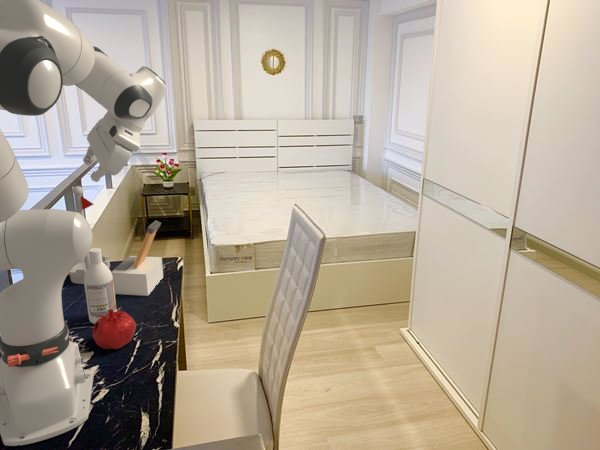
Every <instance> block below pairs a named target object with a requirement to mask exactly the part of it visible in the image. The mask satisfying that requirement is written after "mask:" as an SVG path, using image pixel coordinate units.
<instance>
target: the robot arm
mask: <svg viewBox="0 0 600 450" xmlns="http://www.w3.org/2000/svg"><path fill="white" fill-rule="evenodd" d="M74 85H75V87H77V88H78V89H80V90H82V91H83V92H84V93H85V94H87V95H88V96H89V97H91V98H92V99H93V100H94V101H95V102H96V103H98V104H99V105H100V106H102V107H103V108H104V109H105V110H107V112H106V113H105V114H104V116H103V117H102V118H100V119H99V120H98V121H97V122H96V123H95V124H94V126H93V127H92V128H91V130H90V132H89V133H88V134H87V136H86V140H87V142H88V144H89V146H88V147H87V150H86V153H85V156H84V157H83V159H82V162H83V163H84V164H85V165H87V166H91V165H92V163H93V162H94V158H96V160H97V162H98V164H99V165H98V167H97V170H95V171H93V172H92V173H91V175H89V176H90V179H91V180H92V181H93V182H95V183H98V182H99V181H100V180H101V178H103V177H104V176H106V175H107V174H109V175H111V176H117V175H118V174H119V173H120V172H121V171H122V170H123V169H124V168H125V167H126V165H127V164H128V162H129V161H130V159H131V158H132V156H133V152H135V153H136V152H138V151H139V149H140V147H141V141H140V138H141V137H140V136H141V132H142V130H143V129H144V127H145V124H146V121H147V120H148V119H149V118H151V116H153V114H154V113H155V112H156V110H157V109H158V107H159V106H160V104H161V102H162V100H163V98H164V97H165V94H166V92H167V89H168V85H167V84H166V81H165V80H164V79H162V77H160V76H159V75H158V74H157V73H156V72H155V71H154V70H152V69H151V68H149V67H147V66H144V65H143V66H141V67H140V68H138V70H137V71H136V72H133V73H131V72H128V71H126V70H125V69H123V68H122V66H120V65H119V64H118V63H116V62H115V61H114V60H113V59H112V58H110V57H109V56H108V54H106V53H105V52H104V51H103V50H102V49H100V48H99V47H98V46H97V47H96V46H93V44H92V43H91V41H90V40H89V38H88V37H87V35H85V33H84V32H83V31H82V30H81V29H80V28H79V27H78V26H77V25H75V23H73V22H72V21H71V20H70V19H69V18H67V17H66V16H64V15H63V14H62V13H61V12H59V11H57V10H56V9H55V8H53V7H51V6H49V5H48V4H47V3H44V2H42V1H40V0H0V110H2V111H7V112H8V113H10V114H13V115H18V116H19V115H20V116H27V117H28V116H29V117H32V116H34V117H35V116H41V115H44V114H46V113H47V112H48V111H49V110H51V108H53V107H54V106H55V105H56V104H57V102H58V100H59V99H60V96H61V93H62V91H63V90H62V89H63V87H64V86H65V87H71V86H74ZM28 196H29V184H28V181H27V179H26V177H25V175H24V172H23V171H22V168H21V166H20V163H19V161H18V159H17V157H16V155H15V152H14V151H13V149H12V147H11V145H10V143H9V141H8V139H7V137H6V136H5V134H4V132H3V131H2V130H1V128H0V271H10V270H12V271H13V270H18V271H19V270H20V271H21V272H22V277H23V278H22V279H21V280H18V281H16V282H14V283H12V284H10V285H8V286H7V287H6V288H5V289H3V290H2V291H1V292H0V355H1V357H0V437H1V441H2V443H3V445H4V446H9V447H16V446H18V445H19V446H25V445H30V444H34V443H37V442H41V441H45V440H48V439H51V438H54V437H57V436H59V435H62V434H64V433H67V432H69V431H71V430H73V429H75V428H77V427H79V426H80V425H81V424H83V423H85V422H86V421H87V420H88V419H89V414H90V407H91V399H92V391H93V385H94V372H93V371H92V370H90V369H84V368H83V367H82V363H83V358H82V356H81V355H80V349H79V348H80V347H79V344H78V343H76V342H74V341H71V340H70V331H69V327H68V324H67V321H65V319H64V312H63V311H64V310H63V299H62V298H63V297H62V290H63V286H64V283H65V280H66V278H67V276H68V273H69V272H70V270H71V269H72V268H73V267H74V266H75V265H76V264H78V263H79V262H80V261H82V260H83V259H84V258H85V257H86V255H87V254H88V252H89V250H90V249H92V245H93V238H94V236H93V235H94V234H93V230H92V227H91V225H90V223H89V222H88V220H87V218H86V217H85V216H84V217H83V216H82V215H81V214H80V213H78V211H72V210H63V209H56V208H44V209H40V208H39V209H22V207H23V206H24V205H25V203H26V202H27V200H28ZM19 446H18V447H19Z"/></svg>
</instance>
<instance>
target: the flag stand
mask: <svg viewBox="0 0 600 450" xmlns="http://www.w3.org/2000/svg"><path fill="white" fill-rule="evenodd" d="M72 193H73V194H74V195H75V198H76V205H77V212H78V213H80V214H81V215H82V216H83V217H84V218H85V212H84V210H85V209H87V208H89V207H92V206H93V205H95V204H94V203H92V202H91V201H89V200H88V199H86V198H85V197H84V196H83V194H84V189H83V187H82V186H79V185H76V186H74V187H73V189H72ZM102 262H103V263H104V264H105V265H106V266H107V267H108V268H109V269H110V267H111V263H110V258H109V256H108V255H106V254H103V255H102ZM89 264H90V258H89V252H88V254H87V255H86V257H85V258H84V259H83V260H82V261H80V262H79V263H78V264H76V265H75V266H74V267H73V268H72V269H71V270H70V272H69V273H68V275H69V277H70V281H71V282H72V283H73V284H77V285H84V275H85V272H86V270H87V268H88V266H89ZM68 275H67V276H68Z"/></svg>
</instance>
